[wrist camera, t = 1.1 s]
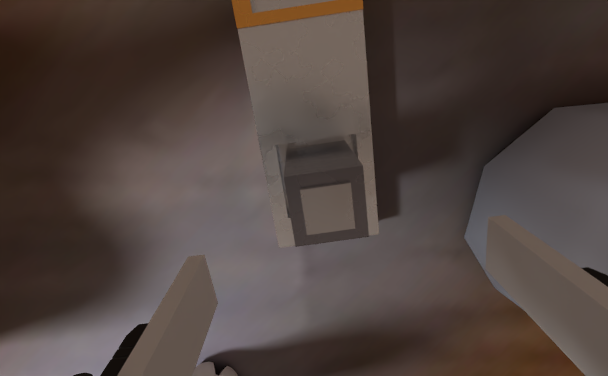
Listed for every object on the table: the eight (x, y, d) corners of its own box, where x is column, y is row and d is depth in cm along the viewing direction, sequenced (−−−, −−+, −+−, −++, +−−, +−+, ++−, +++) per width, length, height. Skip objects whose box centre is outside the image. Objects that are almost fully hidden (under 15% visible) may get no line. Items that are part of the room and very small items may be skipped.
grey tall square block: (295, 202, 30) (295, 248, 22) (286, 148, 28) (283, 178, 20) (350, 194, 30) (369, 238, 22) (344, 140, 28) (364, 166, 20)
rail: (280, 235, 32) (279, 248, 29) (212, -129, 22) (202, -154, 20) (373, 222, 31) (379, 235, 29) (343, -151, 22) (349, -179, 20)
